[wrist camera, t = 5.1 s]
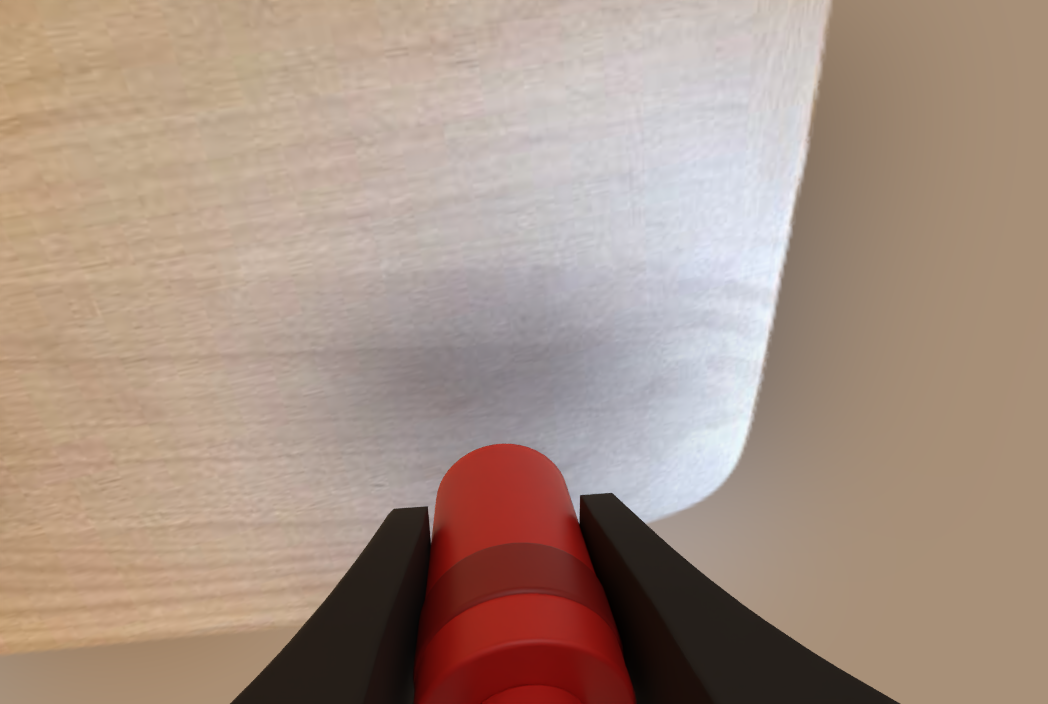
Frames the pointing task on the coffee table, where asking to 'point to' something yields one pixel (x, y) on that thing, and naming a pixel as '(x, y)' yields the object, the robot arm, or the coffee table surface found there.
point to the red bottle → (514, 592)
